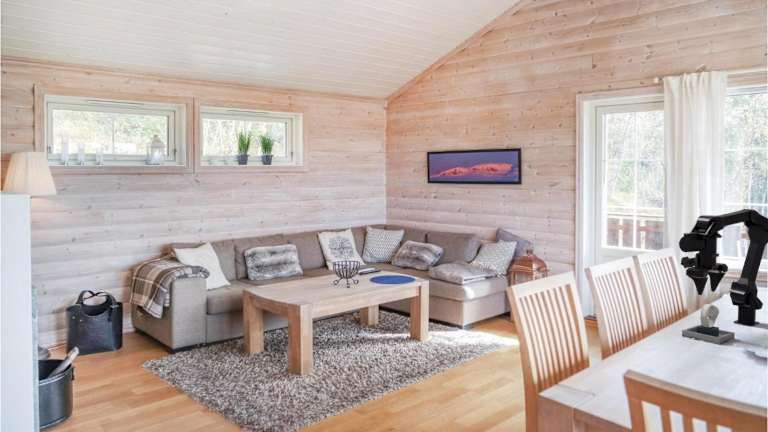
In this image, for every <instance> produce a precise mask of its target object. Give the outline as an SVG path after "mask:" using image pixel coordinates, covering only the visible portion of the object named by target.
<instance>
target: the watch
mask: <svg viewBox="0 0 768 432" xmlns="http://www.w3.org/2000/svg"><path fill="white" fill-rule="evenodd" d="M719 314H720V309H719V308H718V307H717V306H716V305H714V304H711V303H704V304H703V305H702V307H701V310H700V317H699V318H700V319H699V320H700V324H699V325H700V326H697V333H700V334H705V335H709V336H714V337H718V336H719V330H720V327H719V326H714V325H715V323H716V321H717V319H718V316H719Z"/></svg>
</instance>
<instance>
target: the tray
mask: <svg viewBox="0 0 768 432" xmlns="http://www.w3.org/2000/svg"><path fill="white" fill-rule="evenodd" d="M700 325H701V324H698V325H694V326H690V327H688V328H684V329H682V330H681V337H683V336H684V338H688V337H689V338H688V339H692V338H694V339H693V340H697V339H698V341H701V340H703V341H702V342H705V343H710V344H714V343H715V345H722V344H725V343H726V342H729V340H730V341H733V340H735V332H733V331H729V330H725V329H724V330H723V329H719V336H718V337H714V336H709V335H705V334H700V333H697V326H700Z"/></svg>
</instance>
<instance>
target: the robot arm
mask: <svg viewBox="0 0 768 432" xmlns="http://www.w3.org/2000/svg"><path fill="white" fill-rule="evenodd" d="M741 223H743V226H745V228H747V237H748V239H749V245H748V248H747V253H746V256H745V259H744V264H743V267H742V270H741V273H740V277H739V278H738V279H737V280H736V281H732V282H731V285H730V288H729V290H728V292H729V297H730V301H731V304H732V305H733V306H736V307H737V320H734V321H733V323H734V324H739V325H745V326H749V327H753V326H757V325H758V324H760V321H756V317H757V316H756V315H757V313H756V312H757V311H758V310H762V308H763V305H764V302H763V301H762V300H761V299H760V298H759V297H758V291H759V290H758V286H757V284H756V280H757V277H758V274H759V269H760V267H761V266H760V265H761V262H762V259H763V254H764V252H765V249H766V246H767V244H768V217H766V216H764V215H762V214H761V213H759V211H757V210H755V209H751V208H750V209H749V208H744V209H741V210H738V211H733V212H728V213H724V214H719V215H711V214H708V215H707V214H706V215H705V214H704V215H699V216H698V217H697V219H696V221H695V223H694V224H693V226H692V228H691V229H690V231H689V232H684V233H683V236H682V237H681V238H680V239H679V242H678V246H679V249H680V250H681V251H682V252H683V253H693V252H695V255H694V257H689V256H682V257H681V259H680V265H681V266H682V267H683V269H686V270H685V276H687V277H688V278H690V279H691V280H692V281H693V283H694V286H695V289H696V292H697V295H699V296H702V295H703V294H704V290H705V288H706V285H707V282H708V280H709V283H710V284H709V285H710V291H711V292H716V290H717V288H718V287H719V284H720V283H721V281H722V279H723V278H724V277H725V275H726V273H727V272H729V266H728V265H727V264H726V263H720V262H717V257H720V253H718V251H717V250H718V239H721V238H723V235H721V234H720V233H719V232H721V231H722V230H723V229H724V228H725V227H728V226H732V225H736V224H741Z"/></svg>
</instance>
